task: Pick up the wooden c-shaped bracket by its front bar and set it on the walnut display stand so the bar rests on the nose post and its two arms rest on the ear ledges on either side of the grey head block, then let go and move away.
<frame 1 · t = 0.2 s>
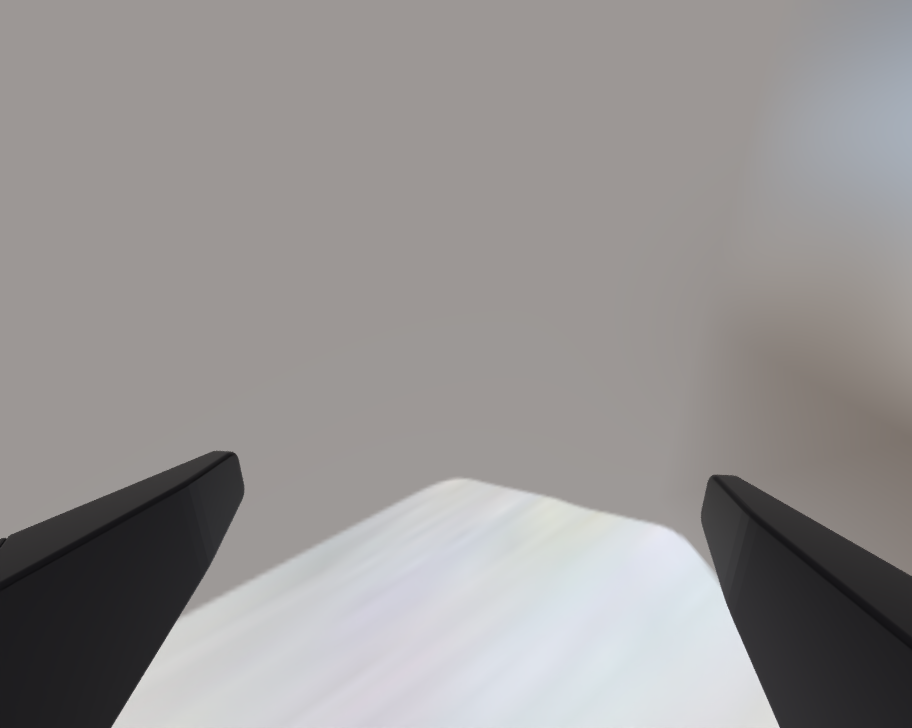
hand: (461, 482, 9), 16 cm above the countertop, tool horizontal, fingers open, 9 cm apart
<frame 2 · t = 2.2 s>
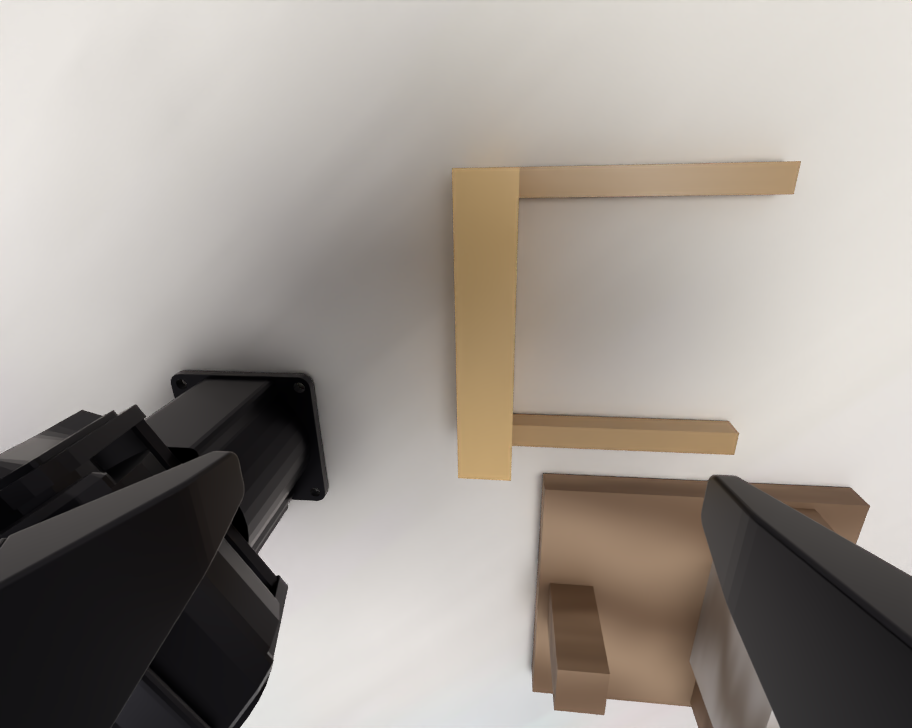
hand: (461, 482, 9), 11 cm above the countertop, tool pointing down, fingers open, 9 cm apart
display stand: (670, 591, 24), on the countertop
wooden c-shaped bracket: (489, 314, 20), on the countertop
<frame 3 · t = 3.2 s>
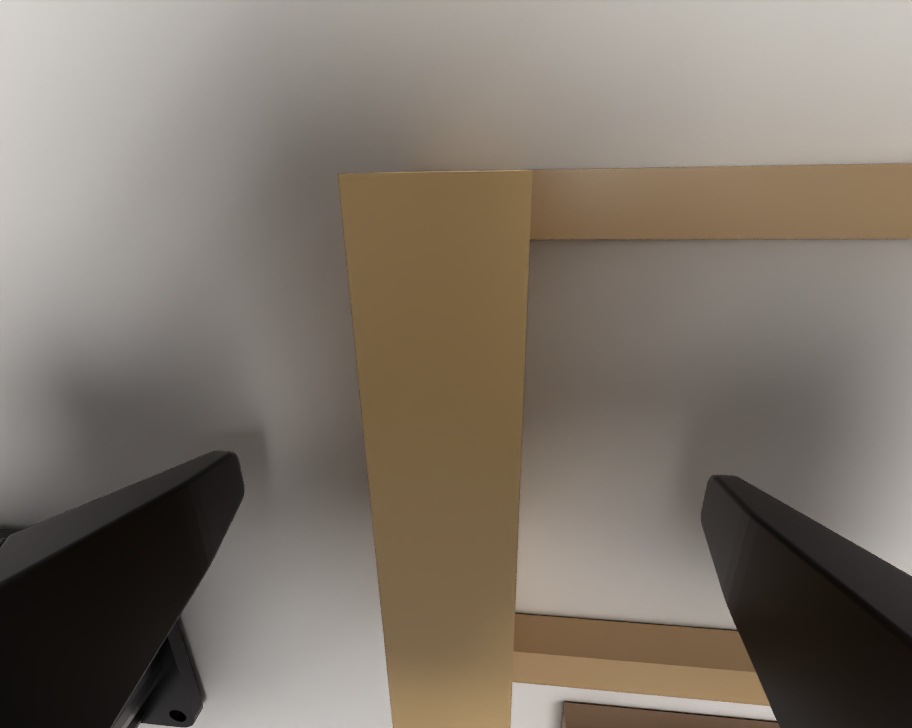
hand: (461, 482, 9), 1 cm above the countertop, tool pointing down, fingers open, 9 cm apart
wooden c-shaped bracket: (466, 452, 10), on the countertop
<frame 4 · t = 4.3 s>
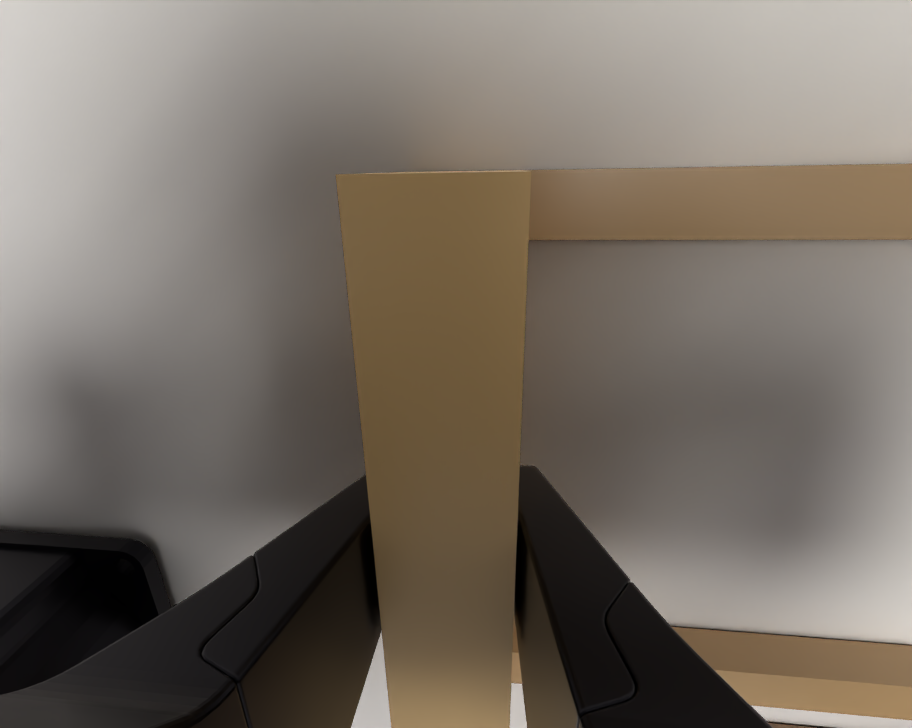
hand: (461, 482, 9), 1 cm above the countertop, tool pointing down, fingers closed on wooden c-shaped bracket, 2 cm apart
wooden c-shaped bracket: (465, 452, 10), on the countertop, touching gripper
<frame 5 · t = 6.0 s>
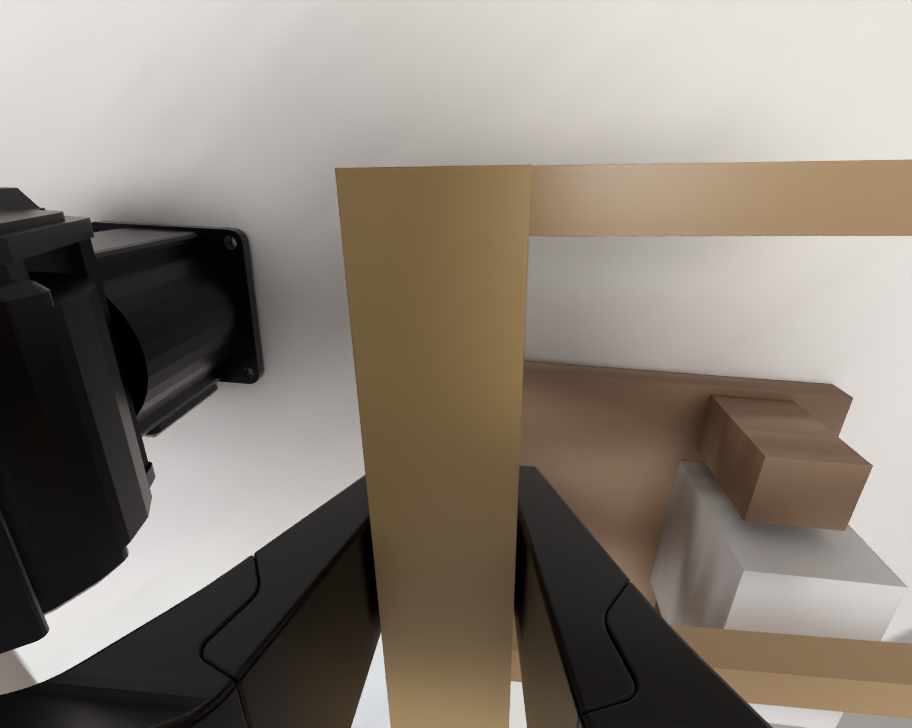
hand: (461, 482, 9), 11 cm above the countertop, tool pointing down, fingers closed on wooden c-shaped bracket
display stand: (633, 503, 22), on the countertop
wooden c-shaped bracket: (465, 450, 10), point 10 cm above the countertop, touching gripper
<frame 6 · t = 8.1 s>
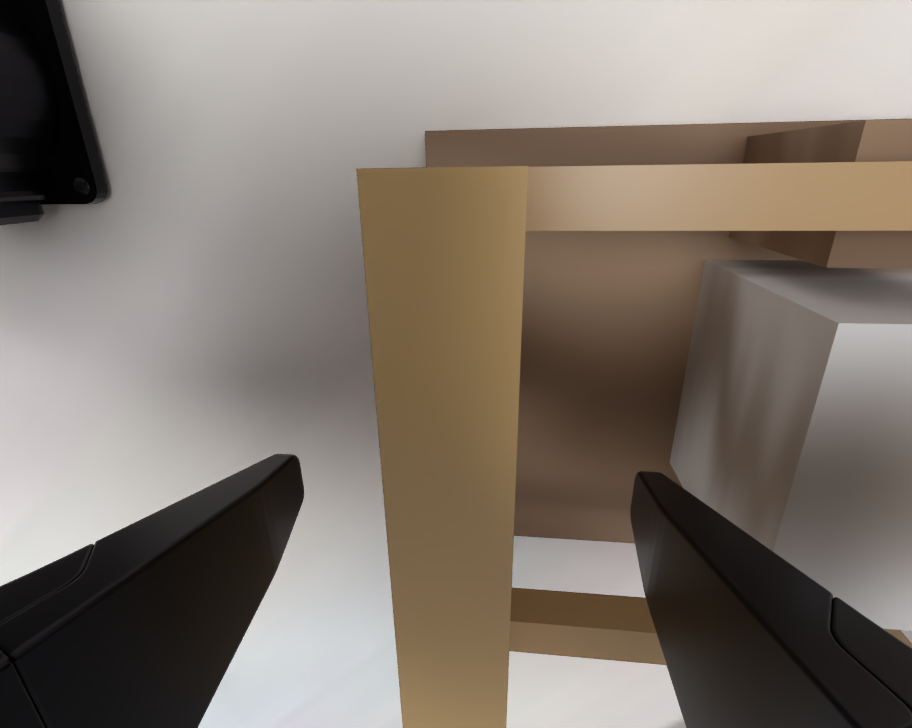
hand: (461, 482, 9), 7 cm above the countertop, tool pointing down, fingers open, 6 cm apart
display stand: (640, 354, 15), on the countertop
wooden c-shaped bracket: (468, 432, 11), point 5 cm above the countertop, touching display stand
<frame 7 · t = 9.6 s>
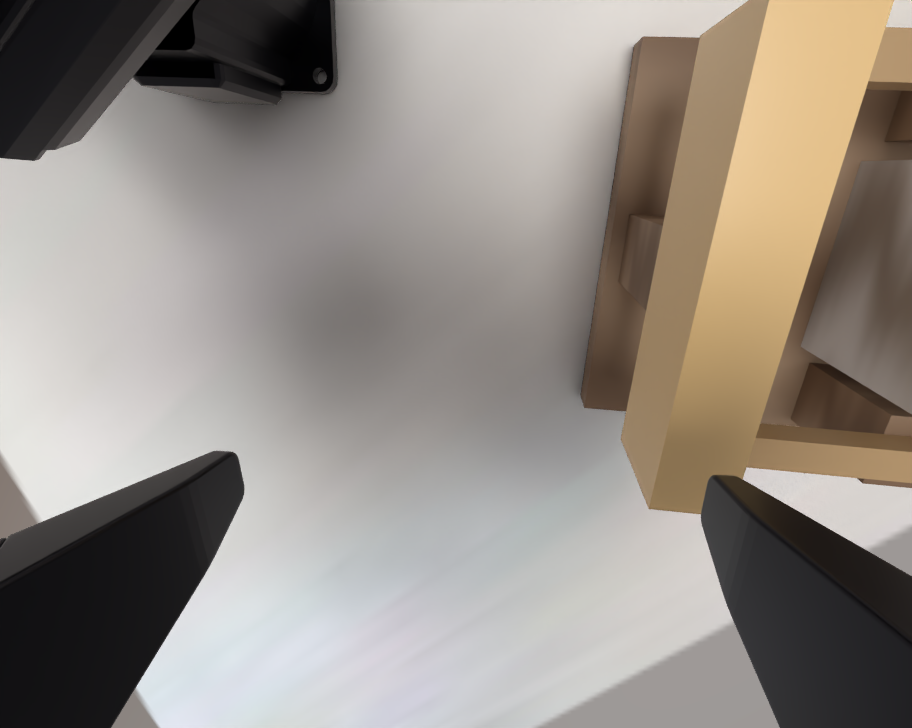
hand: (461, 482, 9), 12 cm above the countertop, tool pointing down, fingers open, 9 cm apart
display stand: (781, 253, 18), on the countertop
wooden c-shaped bracket: (691, 270, 13), point 5 cm above the countertop, touching display stand
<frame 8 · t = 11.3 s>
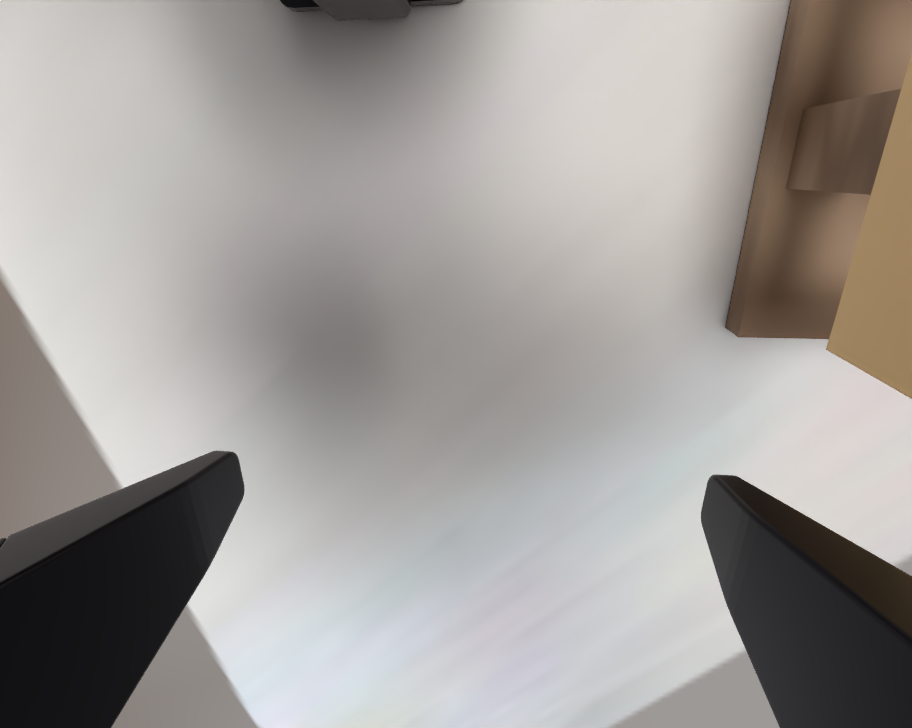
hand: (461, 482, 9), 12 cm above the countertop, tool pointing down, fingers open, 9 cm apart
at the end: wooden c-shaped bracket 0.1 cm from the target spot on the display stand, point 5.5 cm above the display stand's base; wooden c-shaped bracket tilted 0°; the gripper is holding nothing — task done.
